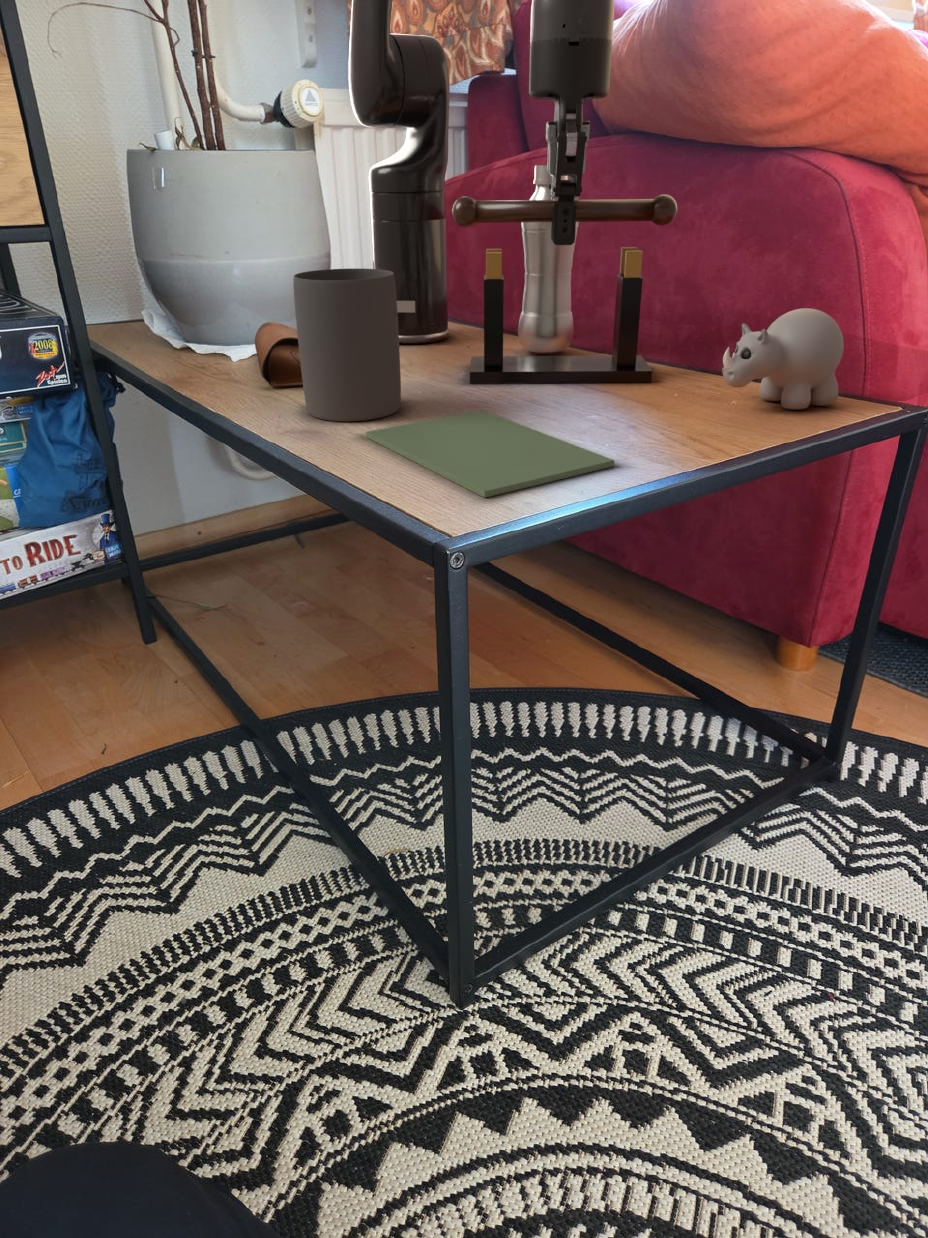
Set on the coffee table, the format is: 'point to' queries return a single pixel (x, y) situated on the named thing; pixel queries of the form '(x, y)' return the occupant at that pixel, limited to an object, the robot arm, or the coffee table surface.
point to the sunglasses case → (279, 355)
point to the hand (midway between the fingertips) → (562, 242)
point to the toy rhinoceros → (790, 359)
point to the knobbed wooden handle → (542, 210)
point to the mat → (488, 452)
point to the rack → (564, 368)
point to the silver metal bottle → (545, 282)
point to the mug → (348, 343)
